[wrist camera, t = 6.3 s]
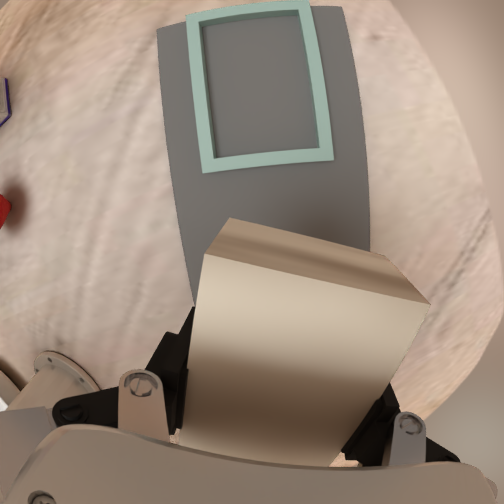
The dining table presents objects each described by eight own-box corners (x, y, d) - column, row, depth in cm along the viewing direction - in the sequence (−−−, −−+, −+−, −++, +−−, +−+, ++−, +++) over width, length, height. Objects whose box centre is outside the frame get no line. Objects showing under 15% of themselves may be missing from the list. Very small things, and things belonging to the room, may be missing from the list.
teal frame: (331, 160, 22) (333, 160, 21) (206, 172, 23) (202, 173, 22) (307, 6, 18) (308, 0, 17) (189, 20, 19) (185, 15, 18)
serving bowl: (-34, 345, 37) (-53, 361, 31) (4, 342, 34) (-21, 364, 27) (15, 420, 43) (2, 437, 36) (67, 432, 40) (52, 456, 33)
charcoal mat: (367, 292, 26) (368, 294, 26) (196, 306, 28) (195, 308, 27) (340, 8, 18) (341, 6, 18) (158, 30, 20) (156, 29, 19)
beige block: (229, 217, 11) (204, 253, 7) (384, 255, 11) (430, 305, 7) (194, 406, 14) (176, 466, 10) (305, 427, 14) (309, 487, 10)
